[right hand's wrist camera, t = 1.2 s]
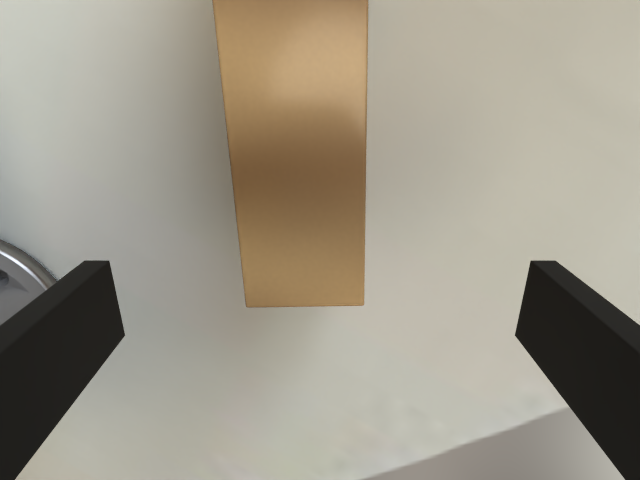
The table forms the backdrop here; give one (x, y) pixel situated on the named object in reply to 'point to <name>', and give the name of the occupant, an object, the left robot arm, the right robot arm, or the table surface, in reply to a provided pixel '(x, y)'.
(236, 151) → the box
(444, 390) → the table surface
